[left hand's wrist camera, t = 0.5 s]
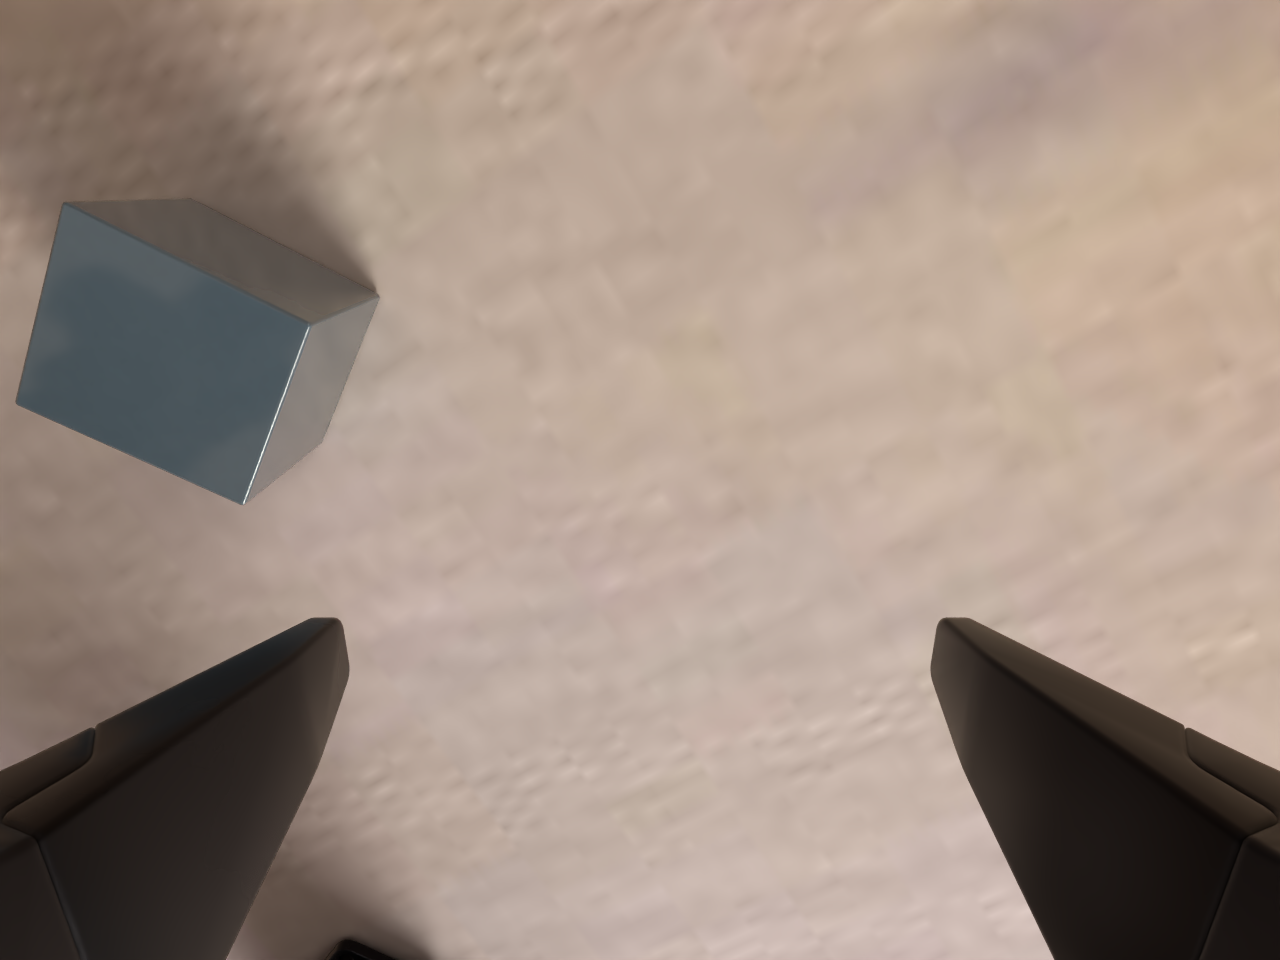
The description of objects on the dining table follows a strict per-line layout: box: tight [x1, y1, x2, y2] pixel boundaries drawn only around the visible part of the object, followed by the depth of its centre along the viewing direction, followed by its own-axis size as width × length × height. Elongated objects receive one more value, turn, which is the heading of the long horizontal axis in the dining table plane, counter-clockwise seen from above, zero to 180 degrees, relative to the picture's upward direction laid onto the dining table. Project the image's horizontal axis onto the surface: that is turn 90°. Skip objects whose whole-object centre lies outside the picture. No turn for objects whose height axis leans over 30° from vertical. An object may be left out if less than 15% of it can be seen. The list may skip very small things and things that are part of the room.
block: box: [16, 198, 379, 505], centre depth 18 cm, size 5×5×4 cm
